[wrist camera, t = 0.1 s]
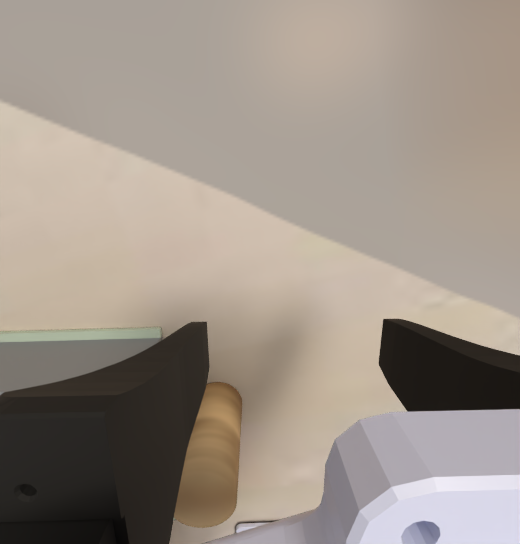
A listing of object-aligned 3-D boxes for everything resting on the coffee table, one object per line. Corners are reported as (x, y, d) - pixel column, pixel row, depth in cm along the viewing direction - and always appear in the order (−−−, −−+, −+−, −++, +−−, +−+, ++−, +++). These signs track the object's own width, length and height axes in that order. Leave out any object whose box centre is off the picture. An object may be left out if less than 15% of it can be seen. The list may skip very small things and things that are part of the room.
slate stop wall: (164, 358, 23) (131, 418, 17) (-41, 364, 22) (-154, 427, 16) (162, 335, 22) (126, 388, 16) (-49, 341, 22) (-167, 396, 16)
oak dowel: (242, 422, 24) (238, 526, 17) (195, 424, 24) (168, 528, 17) (241, 381, 23) (235, 471, 16) (192, 382, 23) (161, 474, 16)
